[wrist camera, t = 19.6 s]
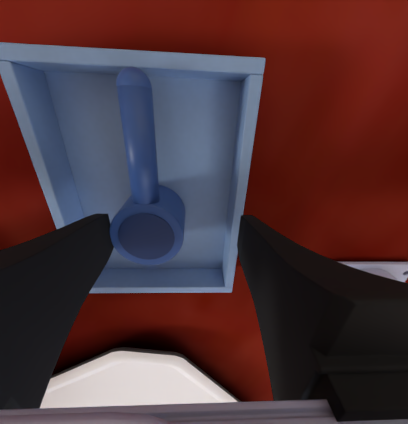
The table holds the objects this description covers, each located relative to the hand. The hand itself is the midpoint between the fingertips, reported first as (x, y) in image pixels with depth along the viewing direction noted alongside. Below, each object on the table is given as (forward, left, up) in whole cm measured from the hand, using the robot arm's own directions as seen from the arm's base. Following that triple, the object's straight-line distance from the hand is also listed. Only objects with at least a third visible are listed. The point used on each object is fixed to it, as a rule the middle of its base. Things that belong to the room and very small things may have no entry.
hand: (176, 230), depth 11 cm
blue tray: (+1, +2, -4) cm, 4 cm away
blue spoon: (+3, +2, -3) cm, 4 cm away
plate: (-32, +7, -4) cm, 33 cm away
